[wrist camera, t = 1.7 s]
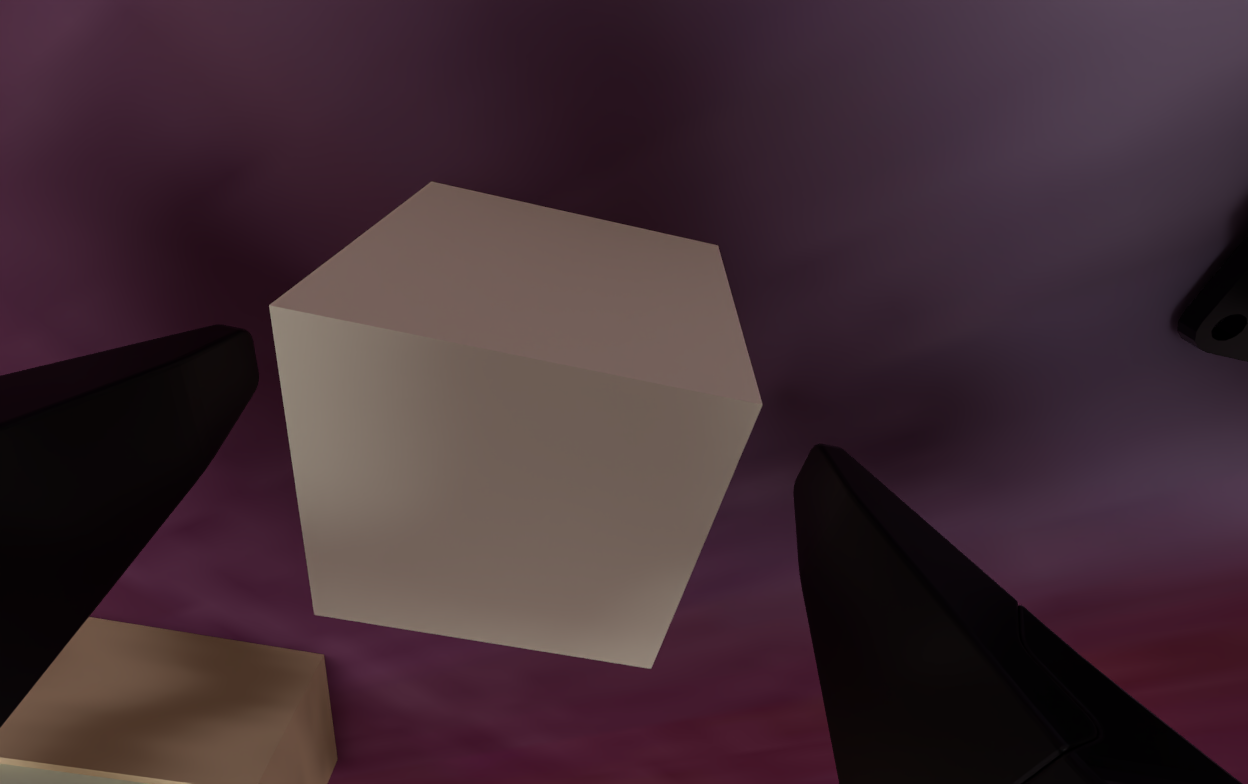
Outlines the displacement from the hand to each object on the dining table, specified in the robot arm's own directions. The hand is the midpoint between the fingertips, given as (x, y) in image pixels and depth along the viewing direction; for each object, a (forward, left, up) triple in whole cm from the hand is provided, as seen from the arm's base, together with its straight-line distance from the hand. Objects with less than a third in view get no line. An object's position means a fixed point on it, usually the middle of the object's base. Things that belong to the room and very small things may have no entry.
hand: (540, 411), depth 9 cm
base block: (+9, +16, -3) cm, 19 cm away
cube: (0, 0, -2) cm, 3 cm away
